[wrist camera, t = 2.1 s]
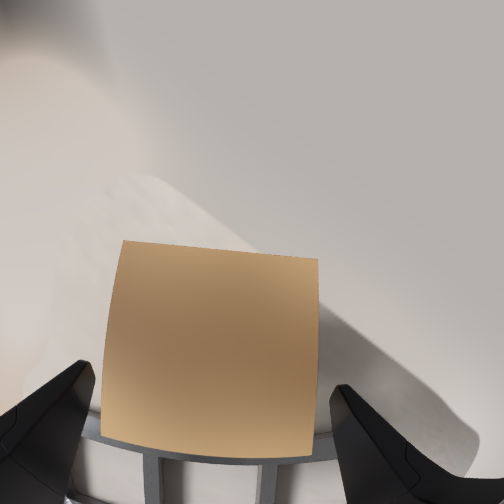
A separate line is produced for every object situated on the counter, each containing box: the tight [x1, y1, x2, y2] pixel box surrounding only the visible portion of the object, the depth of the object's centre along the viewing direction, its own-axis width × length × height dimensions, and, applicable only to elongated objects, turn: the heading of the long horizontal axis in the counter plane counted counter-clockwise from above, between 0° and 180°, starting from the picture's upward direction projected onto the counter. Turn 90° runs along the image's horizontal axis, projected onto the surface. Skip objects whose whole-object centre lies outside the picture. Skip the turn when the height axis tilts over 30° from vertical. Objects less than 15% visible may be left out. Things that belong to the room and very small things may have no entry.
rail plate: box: [64, 410, 338, 504], centre depth 12 cm, size 10×23×2 cm, turn 87°
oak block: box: [101, 240, 319, 458], centre depth 11 cm, size 4×4×13 cm
